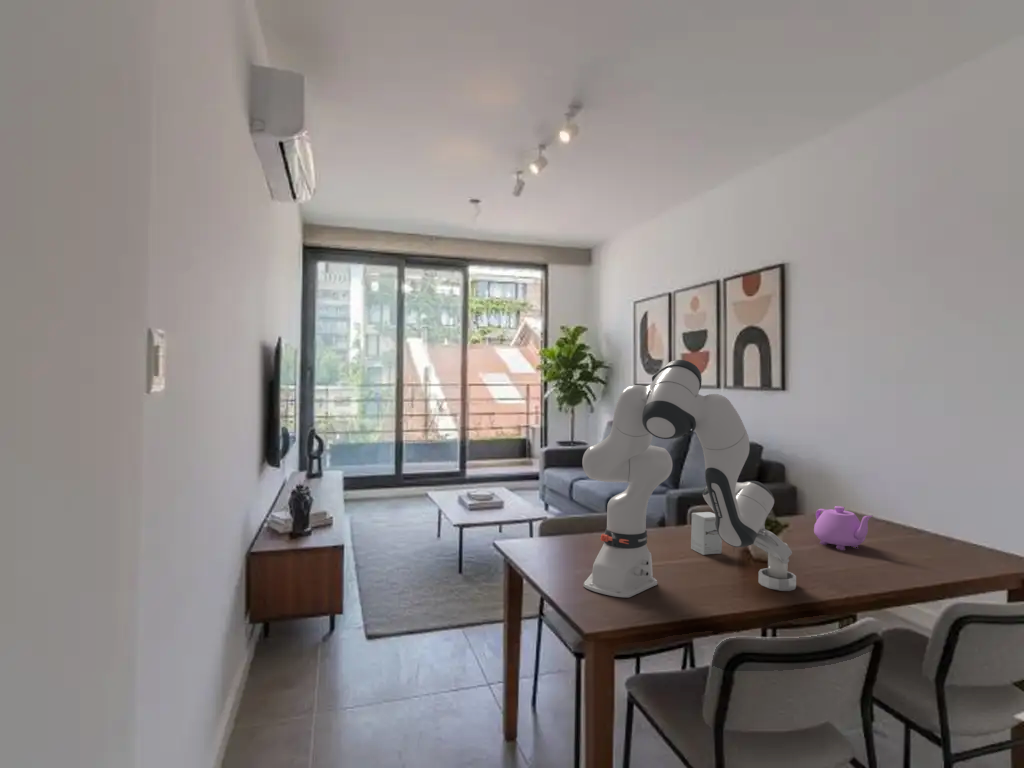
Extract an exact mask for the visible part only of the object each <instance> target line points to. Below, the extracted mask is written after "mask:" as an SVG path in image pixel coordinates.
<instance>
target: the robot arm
mask: <svg viewBox="0 0 1024 768" xmlns="http://www.w3.org/2000/svg"><path fill="white" fill-rule="evenodd" d="M651 380H652V382H651V383H650V384H649V385H643V384H642V385H641V384H633V385H629V386H627V387H625V388H624V389H623V390H622V391H621V393H620V395H619V397H618V400H617V402H616V405H615V408H614V413H613V420H612V423H611V424H612V426H611V429H610V432H609V434H607V436H606V437H605V438H604V439H603V440H601V441H600V442H598V443H595V444H593V445H591V446H588V448H587V449H586V450H585V451H584V453H583V456H582V462H581V463H582V470H583V472H584V473H585V476H586V477H588V478H589V480H594V481H598V482H604V483H628V485H627V486H626V487H627V488H626V489H625V490H623V491H622V492H620V493H617V494H616V495H614V496H612V497H611V498H610V499H609V501H608V503H607V504H606V505H607V507H606V508H607V509H606V510H607V511H606V528H605V532H604V533H602V534H601V535H600V541H601V542H603V544H602V547H601V548H600V550H599V552H598V554H597V556H596V557H595V560H594V562H593V565H592V572H591V573H590V575H589V576H588V577H587V579H586V580H585V581H584V582H583V587H584V588H585V589H587V590H589V591H592V592H594V593H599V594H602V595H607V596H610V597H616V598H631V597H633V596H636V595H637V594H640V593H642V592H644V591H646V590H649V589H650V588H652V587H654V586H657V585H658V580H657V579H656V578H655V577H653V560H652V559H653V556H652V553H651V552H650V550H649V549H648V546H647V544H648V530H647V529H646V523H647V522H646V521H647V510H648V504H649V501H650V498H651V496H652V495H653V492H654V491H655V490H656V489H657V487H659V485H661V484H662V483H664V482H665V481H666V480H667V479H668V478H669V477H670V475H671V473H672V471H673V459H672V456H671V455H670V452H669V451H668V450H667V449H666V448H665V447H661V446H657V445H652V442H653V438H654V437H656V438H657V439H662V440H669V439H670V440H671V439H672V440H674V439H678V438H681V437H683V438H686V437H688V436H690V435H692V433H693V432H694V433H695V434H696V436H697V438H698V440H699V443H700V446H701V448H702V453H703V457H704V467H705V468H704V469H705V471H704V474H705V477H704V478H705V482H706V483H705V484H706V485H705V488H704V489H703V490H702V497H703V499H704V501H705V502H706V503H707V505H708V507H709V508H711V509H712V511H713V513H714V514H715V517H716V520H715V526H716V530H717V532H718V534H719V536H720V537H721V539H722V542H725V543H726V544H727V545H728V546H729V545H730V546H731V547H734V548H745V547H748V546H752V545H754V546H755V547H757V548H759V549H760V550H762V551H764V552H765V553H766V554H767V555H768V553H770V554H771V555H773V556H775V557H777V558H779V560H780V561H781V562H782V563H784V564H787V563H788V564H789V562H790V558H789V557H790V556H791V555H792V554H793V552H792V549H791V548H790V547H789V545H788V546H787V545H786V544H787V543H786V542H783V540H782V539H780V538H779V537H778V536H777V535H776V534H775V533H774V532H772V531H770V530H768V529H766V526H765V524H766V520H767V518H768V516H769V514H770V512H771V510H772V509H773V507H774V504H775V498H774V495H773V493H772V491H770V489H769V488H768V487H767V486H766V485H764V484H763V483H762V482H760V481H756V480H747V481H742V482H738V479H739V476H740V475H741V472H742V470H743V467H744V465H745V463H746V461H747V459H748V457H749V454H750V448H751V447H750V438H749V434H748V432H747V429H746V428H745V425H744V422H743V420H742V418H741V416H740V414H739V412H738V411H737V409H736V408H735V407H734V405H733V404H732V402H731V401H730V400H729V398H727V397H726V396H725V395H722V394H718V393H709V394H706V395H702V394H699V392H700V390H701V387H702V382H703V381H702V373H701V371H700V369H699V367H697V366H696V364H694V363H692V362H691V361H689V360H686V359H685V360H684V359H675V360H671V361H670V362H667V364H665V365H664V366H663V367H662V368H661V369H660V370H659V371H658V372H656V373H655V374H653V375H652V377H651ZM785 543H786V544H785Z"/></svg>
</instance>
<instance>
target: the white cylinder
mask: <svg viewBox="0 0 1024 768" xmlns="http://www.w3.org/2000/svg"><path fill="white" fill-rule="evenodd" d="M784 543H785V544H786V545H787V546H788V547H789V544H787V542H784ZM788 564H789V562H788V563H787V564H784V563H782V562H781V561H780V560H779V558H777V557H775V556H773V555H771V554H770V553H768V554H767V568H768V576H769V577H772V578H777V579H787V571H788V569H789V568H788Z"/></svg>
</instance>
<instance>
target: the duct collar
mask: <svg viewBox="0 0 1024 768" xmlns="http://www.w3.org/2000/svg"><path fill="white" fill-rule="evenodd" d="M758 584H760V585H761V586H762V587H765V588H766V589H770V590H775V591H778V592H779V591H781V592H790V591H794V590H796V588H797V575H795V573H793V572H791V571H789V570H787V579H777V578H772V577H769V576H768V567H766V568H760V569H759V571H758Z"/></svg>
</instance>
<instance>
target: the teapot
mask: <svg viewBox="0 0 1024 768" xmlns="http://www.w3.org/2000/svg"><path fill="white" fill-rule="evenodd" d="M845 509H846V508H845V507H844V506H840V505H836V506H834V509H831V508H830V509H826V508H819V509H816V511H815V519H816V521H815V523H814V524H813V527H814V528H813V532H814V535H815V536H816V537H817V538H818V539H819V540H820V542H819V544H820V545H823V546H826V545H827V544H828V545H829V544H831V545H835V546H836V547H835V548H837V549H836V550H838V549H840V550H839V551H845V550H846V547H850V546H851V547H850V548H852V547H855V548H854V549H857V548H856V547H859V546H860V545H862V544H863V542H864V541H865V540H866V536H867V535H868V532H869V526H868V524H869V520H870V519H871V518H872V517H873V515H864V516H862V519H861V521H860V519H859V517H858V516H857V515H856V513H854V512H852V511H848V510H845ZM844 549H845V550H844Z"/></svg>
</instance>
